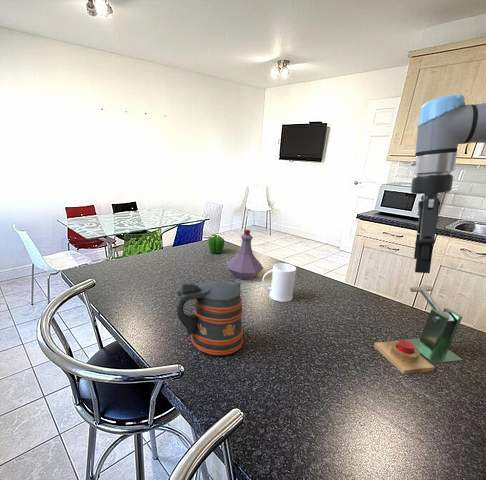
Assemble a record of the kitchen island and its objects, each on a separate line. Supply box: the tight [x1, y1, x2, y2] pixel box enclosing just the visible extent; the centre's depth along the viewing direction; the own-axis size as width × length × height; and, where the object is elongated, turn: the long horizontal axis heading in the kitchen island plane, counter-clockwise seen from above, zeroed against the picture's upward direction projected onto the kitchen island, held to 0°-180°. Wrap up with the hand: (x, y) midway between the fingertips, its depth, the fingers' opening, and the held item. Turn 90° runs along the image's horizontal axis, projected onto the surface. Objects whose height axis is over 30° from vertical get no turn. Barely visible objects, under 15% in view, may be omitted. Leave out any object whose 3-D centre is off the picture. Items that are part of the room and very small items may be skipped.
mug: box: [261, 262, 297, 303], centre depth 107 cm, size 12×8×12 cm
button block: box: [373, 340, 436, 375], centre depth 77 cm, size 8×11×4 cm
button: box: [397, 339, 415, 354], centre depth 76 cm, size 4×4×2 cm
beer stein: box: [176, 280, 244, 357], centre depth 79 cm, size 19×15×20 cm
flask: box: [226, 229, 265, 280], centre depth 123 cm, size 16×16×20 cm
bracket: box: [404, 307, 464, 364], centre depth 78 cm, size 10×9×13 cm
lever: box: [409, 285, 455, 326], centre depth 79 cm, size 12×6×2 cm, turn 9°
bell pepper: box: [207, 233, 225, 254], centre depth 152 cm, size 8×8×10 cm
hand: (421, 265), depth 72 cm, fingers open, 13 cm apart
